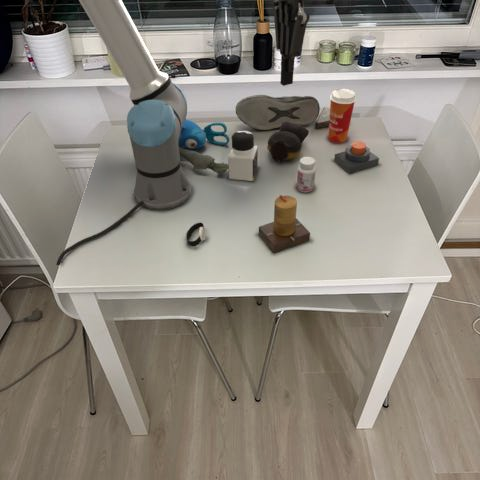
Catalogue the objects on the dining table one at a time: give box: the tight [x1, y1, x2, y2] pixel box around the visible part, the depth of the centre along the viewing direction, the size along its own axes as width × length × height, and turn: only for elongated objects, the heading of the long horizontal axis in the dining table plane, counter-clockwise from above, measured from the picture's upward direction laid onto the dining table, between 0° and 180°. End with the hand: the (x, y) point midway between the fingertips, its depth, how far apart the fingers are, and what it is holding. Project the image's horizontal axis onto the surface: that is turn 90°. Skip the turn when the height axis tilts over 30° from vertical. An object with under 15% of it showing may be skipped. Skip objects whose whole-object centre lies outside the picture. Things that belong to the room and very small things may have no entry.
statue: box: [178, 146, 229, 175], centre depth 138 cm, size 7×8×30 cm
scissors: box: [202, 122, 230, 146], centre depth 148 cm, size 7×1×20 cm
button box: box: [333, 144, 380, 175], centre depth 138 cm, size 10×8×4 cm
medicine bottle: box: [227, 130, 259, 182], centre depth 132 cm, size 7×7×12 cm
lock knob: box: [273, 194, 298, 236], centre depth 112 cm, size 5×5×8 cm
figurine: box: [266, 122, 309, 163], centre depth 141 cm, size 10×7×15 cm
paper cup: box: [328, 88, 357, 144], centre depth 143 cm, size 8×8×14 cm
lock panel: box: [258, 217, 311, 254], centre depth 116 cm, size 10×9×3 cm
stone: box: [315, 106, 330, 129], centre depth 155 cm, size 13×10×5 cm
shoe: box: [235, 94, 321, 131], centre depth 154 cm, size 10×27×12 cm
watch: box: [185, 222, 207, 247], centre depth 116 cm, size 8×5×4 cm, turn 170°
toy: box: [178, 118, 207, 150], centre depth 143 cm, size 12×18×10 cm
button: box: [351, 141, 367, 155], centre depth 136 cm, size 4×4×2 cm
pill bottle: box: [296, 156, 317, 193], centre depth 128 cm, size 5×5×8 cm
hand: (286, 83), depth 119 cm, fingers closed
